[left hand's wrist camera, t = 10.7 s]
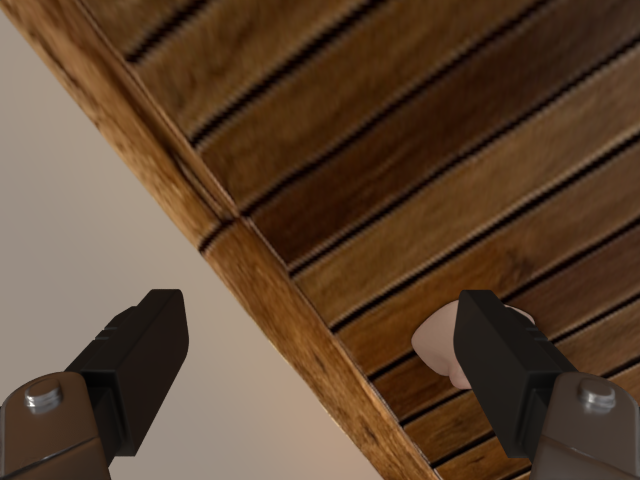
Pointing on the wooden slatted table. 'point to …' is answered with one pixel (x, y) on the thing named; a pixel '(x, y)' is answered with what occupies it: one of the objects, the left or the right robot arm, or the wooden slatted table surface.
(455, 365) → the anatomical model
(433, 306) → the wooden slatted table surface
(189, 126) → the wooden slatted table surface
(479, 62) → the wooden slatted table surface
